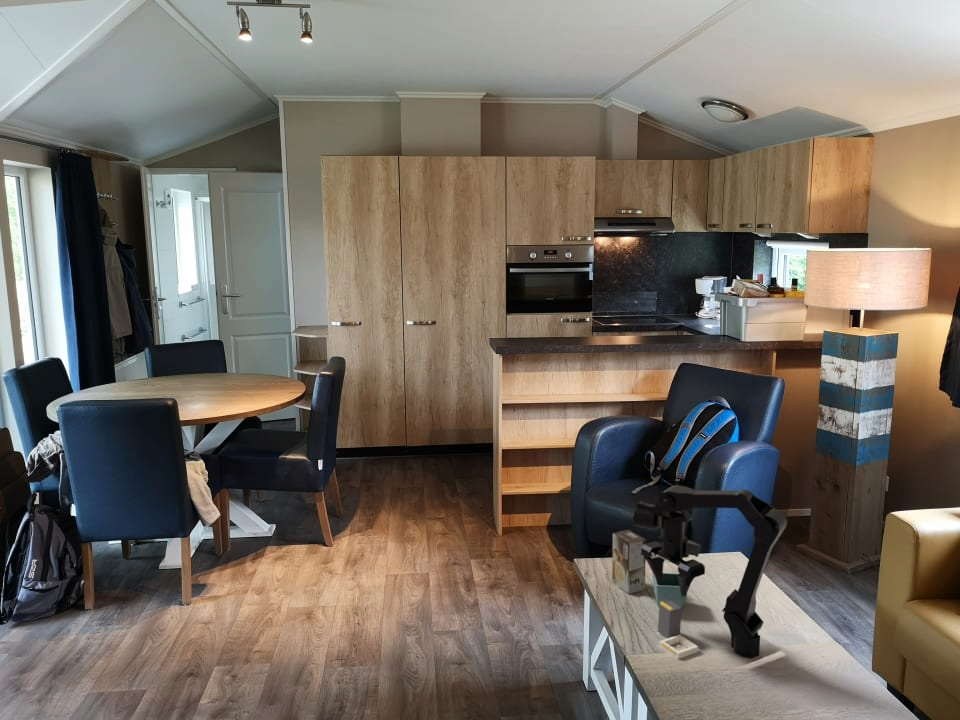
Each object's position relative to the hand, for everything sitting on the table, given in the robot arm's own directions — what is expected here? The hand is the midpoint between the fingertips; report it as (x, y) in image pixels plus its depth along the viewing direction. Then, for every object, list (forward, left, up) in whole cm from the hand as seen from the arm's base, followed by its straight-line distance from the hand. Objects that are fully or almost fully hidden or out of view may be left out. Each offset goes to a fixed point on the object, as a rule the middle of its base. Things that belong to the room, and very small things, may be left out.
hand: (671, 589), depth 204 cm
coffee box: (+27, -7, -12) cm, 30 cm away
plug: (-2, +3, -11) cm, 11 cm away
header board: (-6, +5, -12) cm, 14 cm away
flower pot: (+9, -8, -12) cm, 17 cm away
